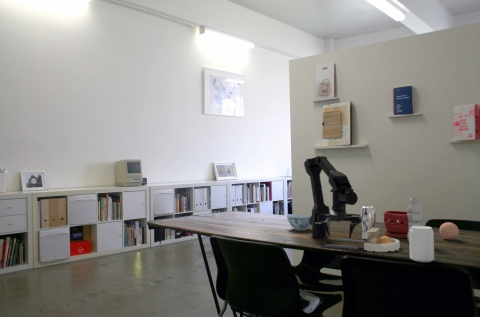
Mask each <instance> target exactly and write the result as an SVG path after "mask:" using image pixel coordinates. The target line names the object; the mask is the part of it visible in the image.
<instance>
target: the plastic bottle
mask: <svg viewBox="0 0 480 317" xmlns="http://www.w3.org/2000/svg"><path fill="white" fill-rule="evenodd" d="M419 202H420V201H419V198H418V197H414V198H413V197H410V198H409V205H408V207H407V209H406V212H407V215H408V222H409V223H408V224H409V226H408V235H407V237H406V238H407V241H408V242H409V230H410V228H411V226H422V218H423V217H422V216H423V209H422V207H421V205H420V203H419Z"/></svg>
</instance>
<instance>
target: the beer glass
mask: <svg viewBox="0 0 480 317" xmlns="http://www.w3.org/2000/svg"><path fill="white" fill-rule="evenodd" d="M360 216H361V217H362V222H361V223H360V224H361V227H362V234H361V239H362V240H367V231H369V230H370V229H371V228H376V221H377V218H376V217H377V215H376V207H375V206H371V205H370V206H360Z"/></svg>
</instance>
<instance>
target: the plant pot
mask: <svg viewBox="0 0 480 317" xmlns="http://www.w3.org/2000/svg"><path fill="white" fill-rule="evenodd" d="M408 223H409V222H408V215H407V211H404V210H386V211H383V224H384V227H385V229H386V230H385V231H384V233H385V236H387V237H389V238H394V239H406V238H407V235H408V226H409V224H408Z"/></svg>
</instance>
